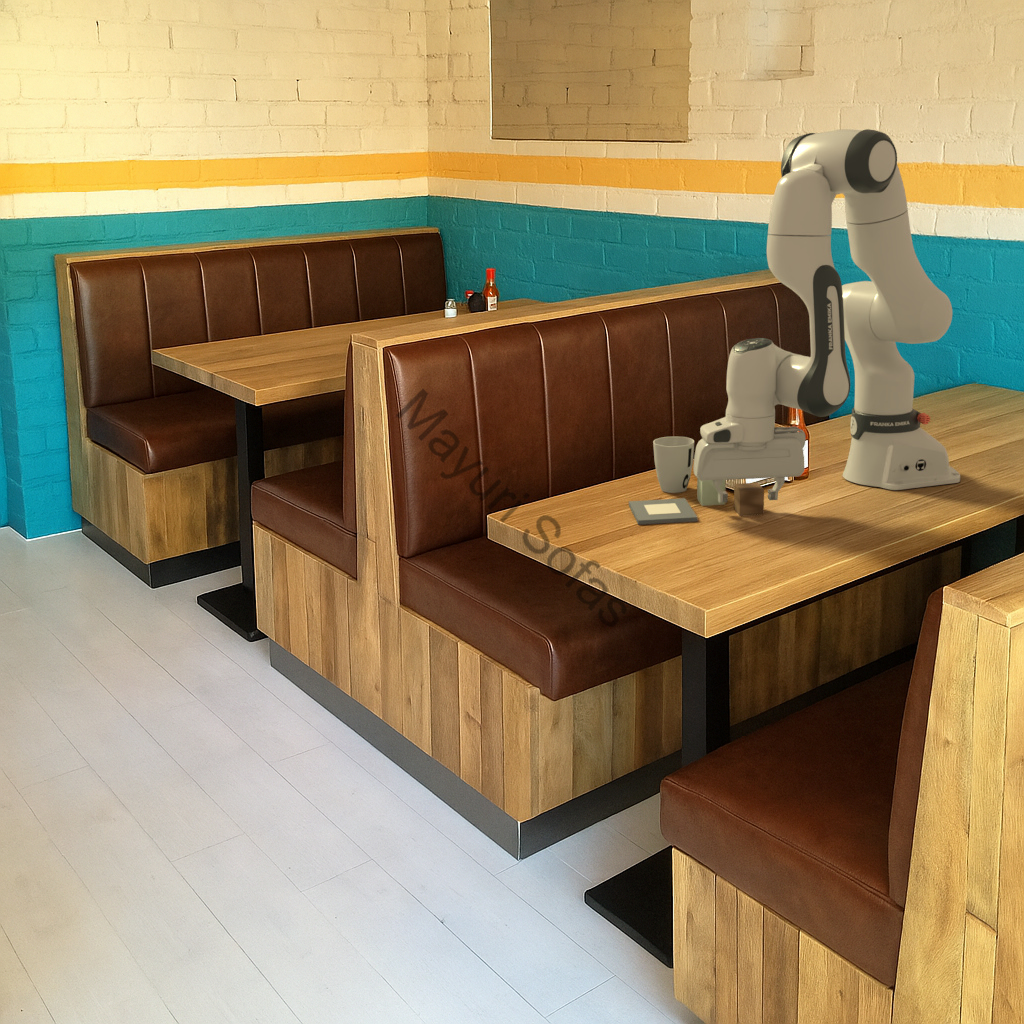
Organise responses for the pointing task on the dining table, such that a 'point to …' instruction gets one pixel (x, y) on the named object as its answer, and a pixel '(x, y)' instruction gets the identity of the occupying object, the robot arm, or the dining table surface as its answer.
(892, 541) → the dining table surface
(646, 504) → the grey flat square plate
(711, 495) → the sage block
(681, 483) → the cup
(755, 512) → the walnut block
